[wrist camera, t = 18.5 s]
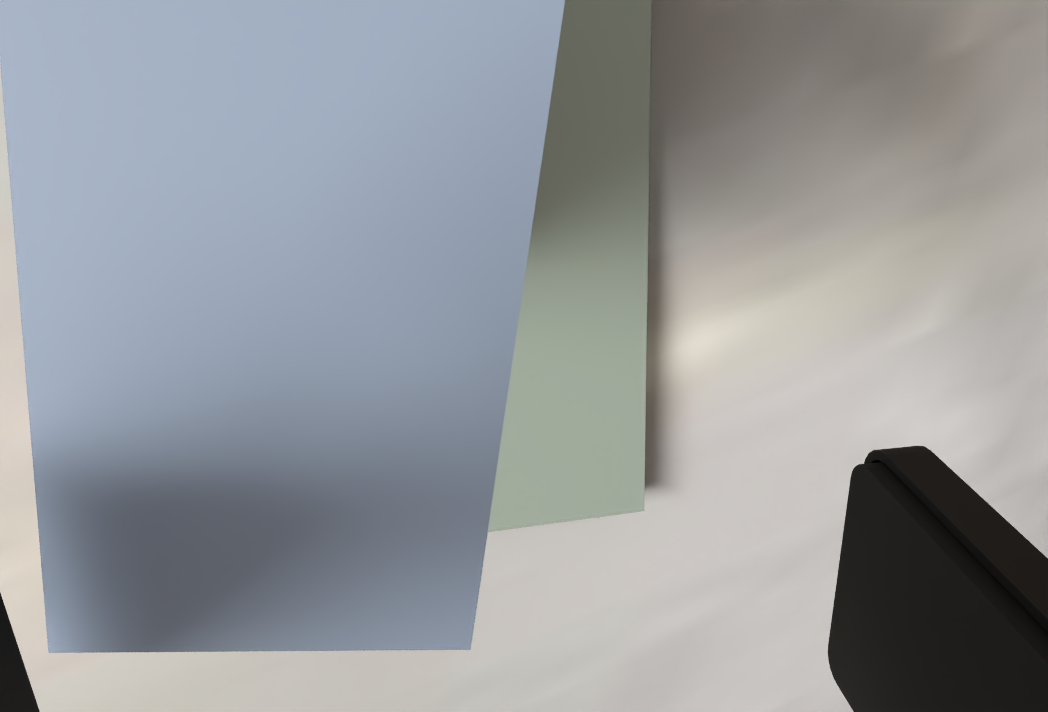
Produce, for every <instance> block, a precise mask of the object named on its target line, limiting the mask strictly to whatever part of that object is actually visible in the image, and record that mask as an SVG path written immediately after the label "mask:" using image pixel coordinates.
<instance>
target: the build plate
mask: <svg viewBox="0 0 1048 712" xmlns="http://www.w3.org/2000/svg"><path fill="white" fill-rule="evenodd" d="M650 70H651V0H565V4H564V11H563V18H562V25H561V32H560V38H559V45H558V52H557V59H556V66H555V73H554V80H553V87H552V93H551V100H550V107H549V114H548V121H547V128H546V135H545V141H544V148H543V155H542V162H541V169H540V176H539V183H538V189H537V196H536V203H535V210H534V217H533V224H532V231H531V237H530V244H529V251H528V258H527V265H526V272H525V279H524V286H523V292H522V299H521V306H520V313H519V320H518V327H517V334H516V340H515V347H514V354H513V361H512V368H511V375H510V382H509V388H508V395H507V402H506V409H505V416H504V423H503V430H502V437H501V443H500V450H499V457H498V464H497V471H496V478H495V485H494V491H493V498H492V505H491V512H490V519H489V526H488V532H492V531H499V530H507V529H514V528H521V527H529V526H536V525H544V524H551V523H558V522H566V521H573V520H581V519H588V518H595V517H603V516H610V515H618V514H625V513H633V512H640V511H644V489H645V419H646V349H647V280H648V210H649V140H650Z"/></svg>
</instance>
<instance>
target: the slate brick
mask: <svg viewBox="0 0 1048 712" xmlns="http://www.w3.org/2000/svg"><path fill="white" fill-rule="evenodd" d="M564 4H565V0H0V65H1V78H2V90H3V102H4V114H5V126H6V139H7V151H8V163H9V175H10V187H11V200H12V212H13V224H14V236H15V248H16V261H17V273H18V285H19V297H20V310H21V322H22V334H23V346H24V358H25V371H26V383H27V395H28V407H29V419H30V432H31V444H32V456H33V468H34V481H35V493H36V505H37V517H38V529H39V542H40V554H41V566H42V578H43V590H44V603H45V615H46V627H47V639H48V651H49V653H84V652H217V651H350V650H470V649H471V642H472V635H473V629H474V622H475V615H476V608H477V601H478V594H479V587H480V581H481V574H482V567H483V560H484V553H485V546H486V539H487V533H488V526H489V519H490V512H491V505H492V498H493V491H494V485H495V478H496V471H497V464H498V457H499V450H500V443H501V437H502V430H503V423H504V416H505V409H506V402H507V395H508V388H509V382H510V375H511V368H512V361H513V354H514V347H515V340H516V334H517V327H518V320H519V313H520V306H521V299H522V292H523V286H524V279H525V272H526V265H527V258H528V251H529V244H530V237H531V231H532V224H533V217H534V210H535V203H536V196H537V189H538V183H539V176H540V169H541V162H542V155H543V148H544V141H545V135H546V128H547V121H548V114H549V107H550V100H551V93H552V87H553V80H554V73H555V66H556V59H557V52H558V45H559V38H560V32H561V25H562V18H563V11H564Z"/></svg>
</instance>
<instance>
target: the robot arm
mask: <svg viewBox="0 0 1048 712" xmlns="http://www.w3.org/2000/svg"><path fill="white" fill-rule="evenodd" d="M828 658H829V664H830V669H831V672H832V675H833V677H834V679H835V681H836V683H837V685H838V687H839V688H840V690H841V691H842V693H843V695H844V696H845V698H846V700H847V701H848V703H849V705H850V706H851V708H852V709H853V711H854V712H1048V558H1046V557H1045V556H1044V555H1043V554H1042V553H1041V552H1040V551H1039V550H1038V549H1037V548H1036V547H1035V546H1033V545H1032V544H1031V543H1030V542H1029V541H1028V540H1027V539H1026V538H1025V537H1024V536H1023V535H1022V534H1020V533H1019V532H1018V531H1017V530H1016V529H1015V528H1014V527H1013V526H1012V525H1011V524H1010V523H1009V522H1007V521H1006V520H1005V519H1004V518H1003V517H1002V516H1001V515H1000V514H999V513H998V512H997V511H996V510H994V509H993V508H992V507H991V506H990V505H989V504H988V503H987V502H986V501H985V500H984V499H983V498H981V497H980V496H979V495H978V494H977V493H976V492H975V491H974V490H973V489H972V488H971V487H970V486H968V485H967V484H966V483H965V482H964V481H963V480H962V479H961V478H960V477H959V476H958V475H957V474H955V473H954V472H953V471H952V470H951V469H950V468H949V467H948V466H947V465H946V464H945V463H944V462H942V461H941V460H940V459H939V458H938V457H937V456H936V455H935V454H934V453H933V452H932V451H931V450H929V449H927V448H926V447H924V446H911V447H901V448H891V449H881V450H873V451H872V452H870V453H869V454H868V456H867V457H866V459H865V462H864V464H859V465H857V466H855V468H854V469H853V471H852V475H851V480H850V487H849V495H848V502H847V510H846V517H845V525H844V532H843V540H842V547H841V555H840V562H839V570H838V577H837V585H836V592H835V599H834V607H833V614H832V622H831V629H830V637H829V644H828ZM0 712H39V709H38V706H37V703H36V700H35V696H34V693H33V690H32V687H31V684H30V681H29V678H28V675H27V672H26V669H25V666H24V663H23V660H22V657H21V654H20V651H19V648H18V645H17V642H16V639H15V636H14V633H13V630H12V627H11V624H10V621H9V618H8V615H7V612H6V609H5V606H4V603H3V600H2V597H1V594H0Z"/></svg>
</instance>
